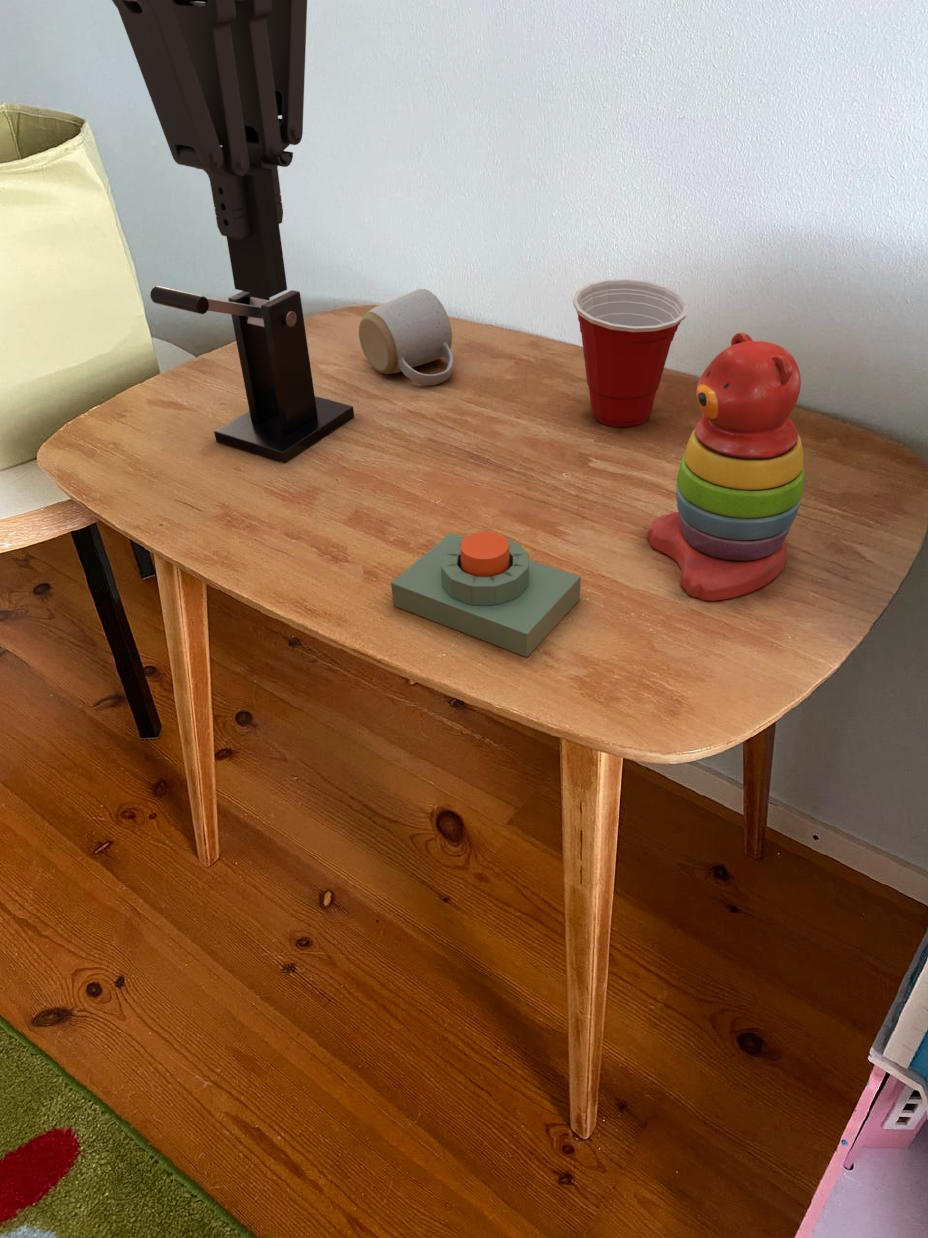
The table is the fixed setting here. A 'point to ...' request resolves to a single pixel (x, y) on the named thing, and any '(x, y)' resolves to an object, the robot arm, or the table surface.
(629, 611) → the table surface
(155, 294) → the lever
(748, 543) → the stacking bear
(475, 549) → the button
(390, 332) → the ceramic mug
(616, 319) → the plastic cup
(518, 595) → the control block
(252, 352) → the bracket
